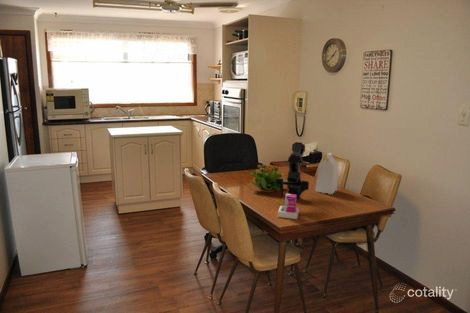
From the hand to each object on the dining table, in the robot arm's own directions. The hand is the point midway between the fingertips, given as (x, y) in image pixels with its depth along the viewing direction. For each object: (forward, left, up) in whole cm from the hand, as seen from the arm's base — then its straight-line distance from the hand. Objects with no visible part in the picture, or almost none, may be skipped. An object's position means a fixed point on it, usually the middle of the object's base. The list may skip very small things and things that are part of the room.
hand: (290, 196), depth 208 cm
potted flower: (-34, +21, -8) cm, 41 cm away
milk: (-7, +52, -8) cm, 53 cm away
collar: (+4, -6, -8) cm, 11 cm away
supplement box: (+5, -7, -8) cm, 12 cm away
